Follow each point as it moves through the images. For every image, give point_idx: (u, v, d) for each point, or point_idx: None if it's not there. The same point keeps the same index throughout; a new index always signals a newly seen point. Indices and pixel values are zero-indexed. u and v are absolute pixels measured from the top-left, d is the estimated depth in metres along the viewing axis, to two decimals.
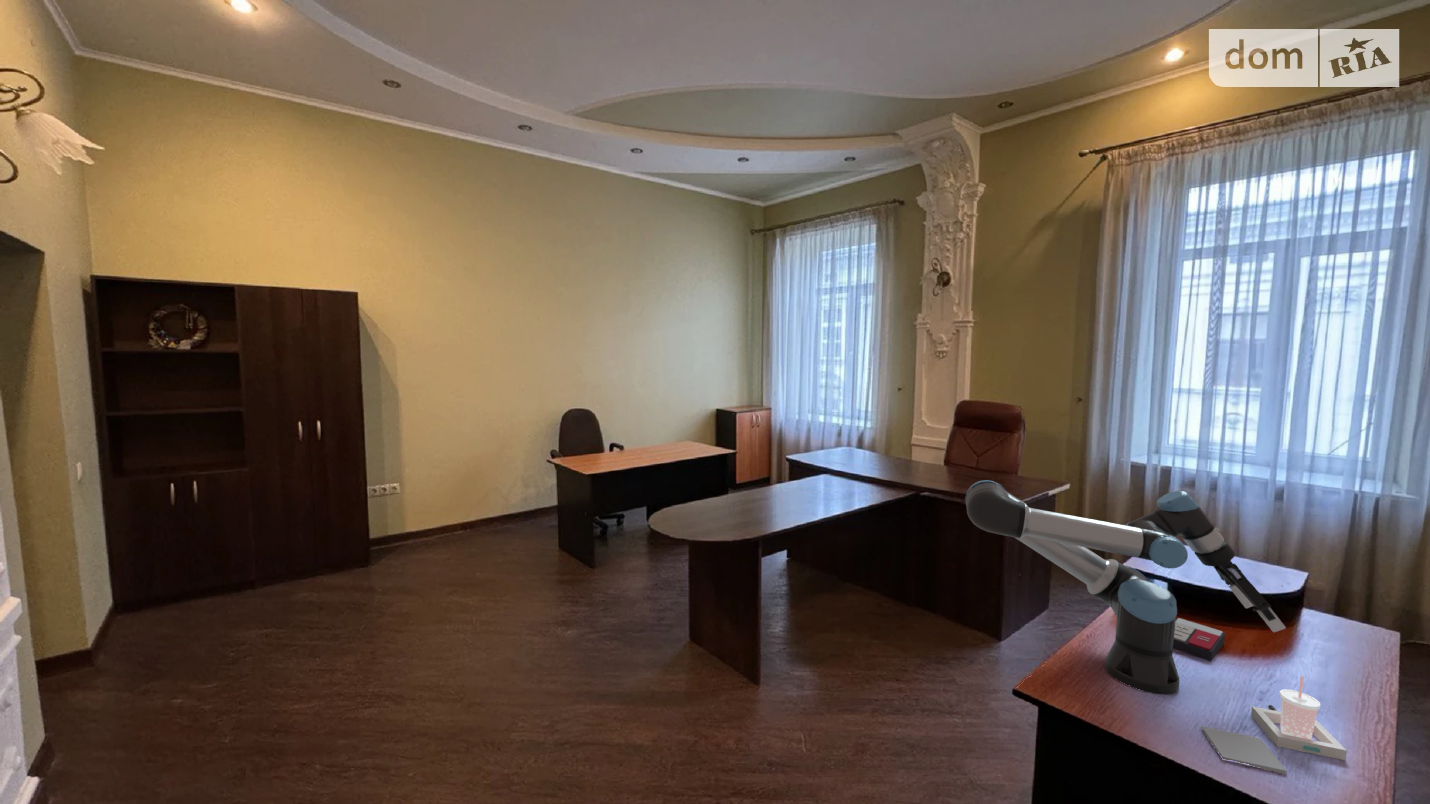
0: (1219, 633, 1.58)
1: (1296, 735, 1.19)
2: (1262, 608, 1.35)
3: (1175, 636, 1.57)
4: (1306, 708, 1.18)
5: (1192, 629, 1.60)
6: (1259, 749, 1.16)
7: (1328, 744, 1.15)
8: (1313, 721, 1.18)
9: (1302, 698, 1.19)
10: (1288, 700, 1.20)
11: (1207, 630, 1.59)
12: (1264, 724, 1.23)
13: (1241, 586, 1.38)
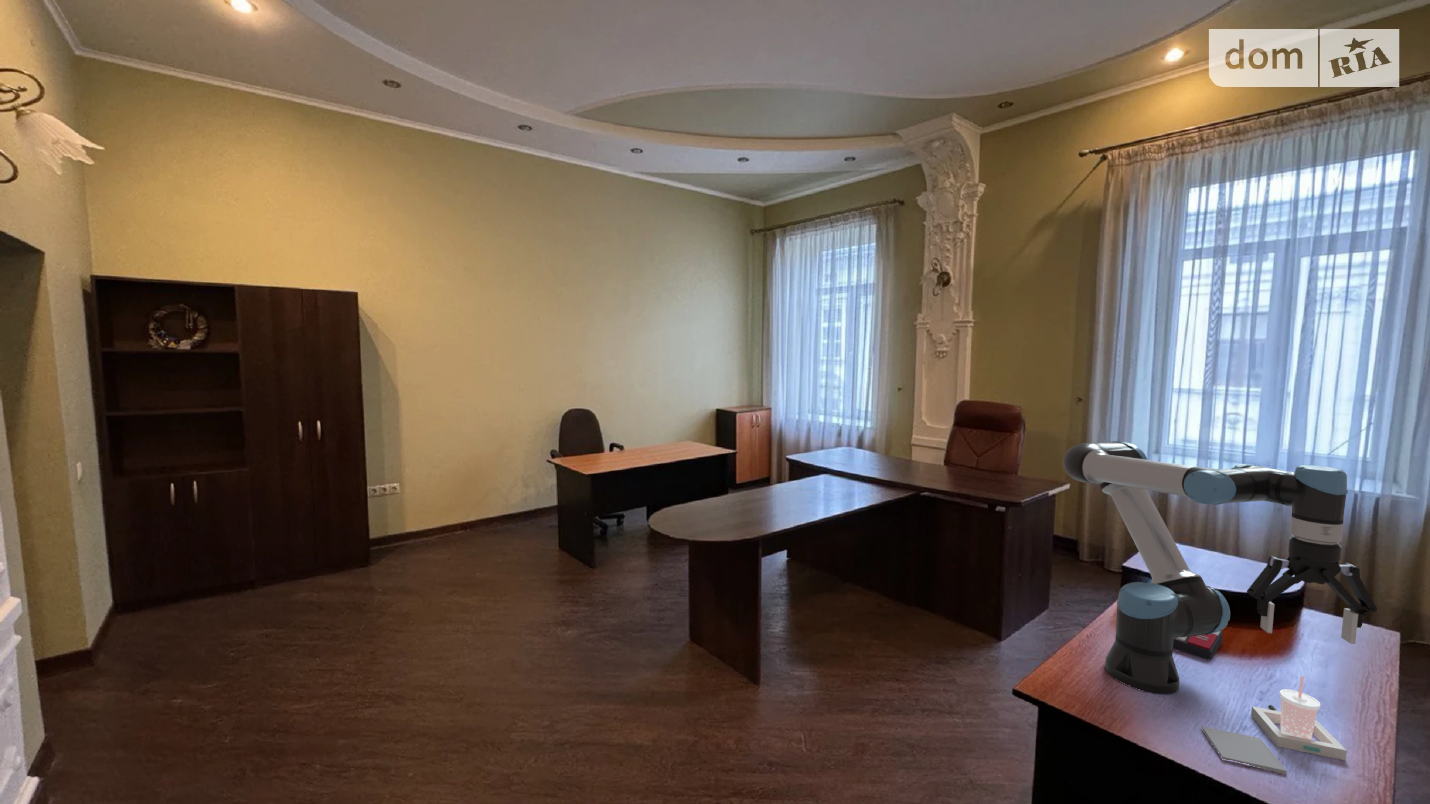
0: (1217, 632, 1.58)
1: (1296, 735, 1.19)
2: (1248, 592, 1.23)
3: None
4: (1306, 707, 1.18)
5: None
6: (1259, 749, 1.16)
7: (1328, 744, 1.15)
8: (1313, 721, 1.18)
9: (1302, 698, 1.19)
10: (1288, 700, 1.20)
11: None
12: (1264, 724, 1.23)
13: (1263, 571, 1.22)
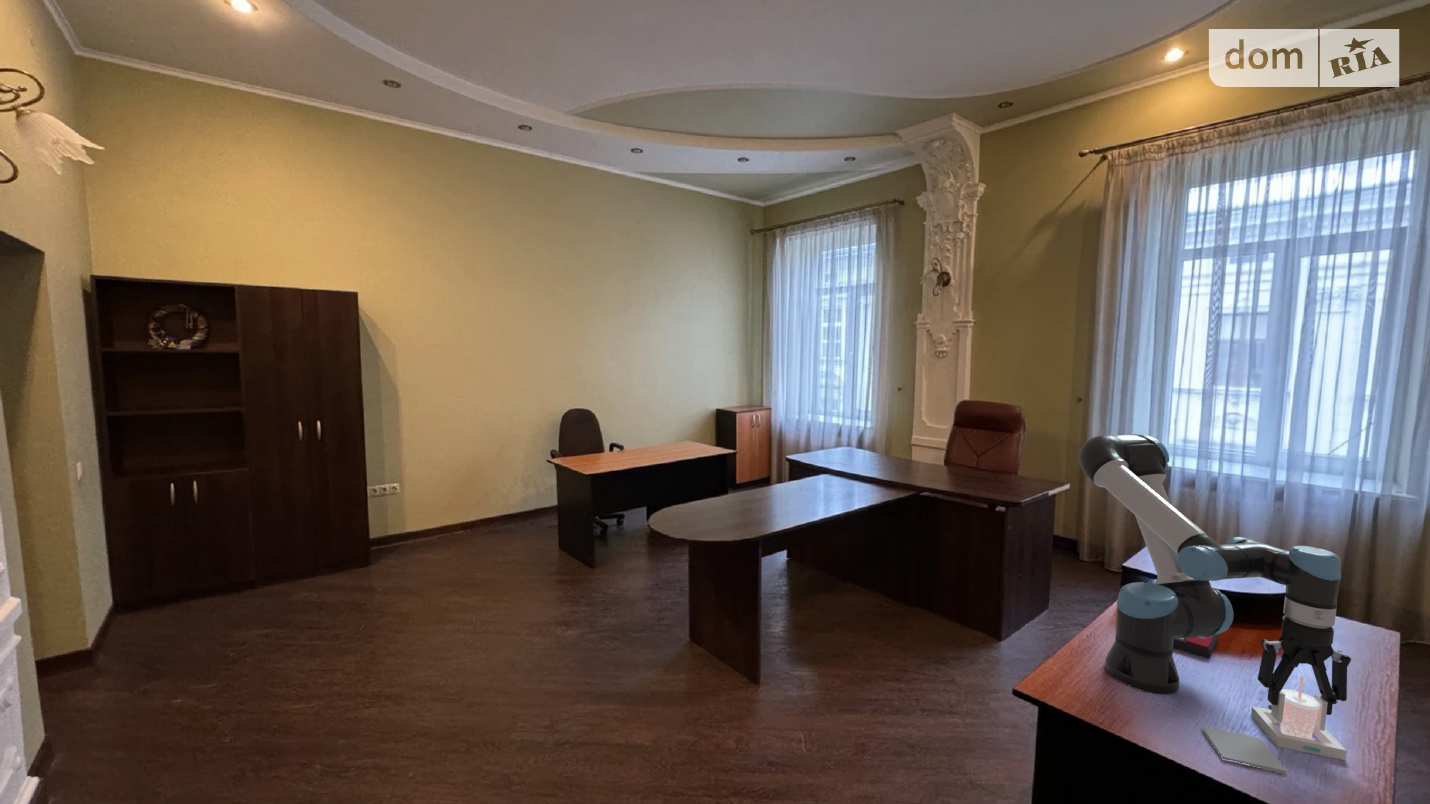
0: None
1: (1296, 735, 1.19)
2: (1259, 680, 1.23)
3: None
4: (1306, 707, 1.18)
5: None
6: (1259, 749, 1.16)
7: (1328, 744, 1.15)
8: (1313, 721, 1.18)
9: (1302, 698, 1.19)
10: (1288, 700, 1.20)
11: None
12: (1264, 724, 1.23)
13: (1263, 656, 1.22)
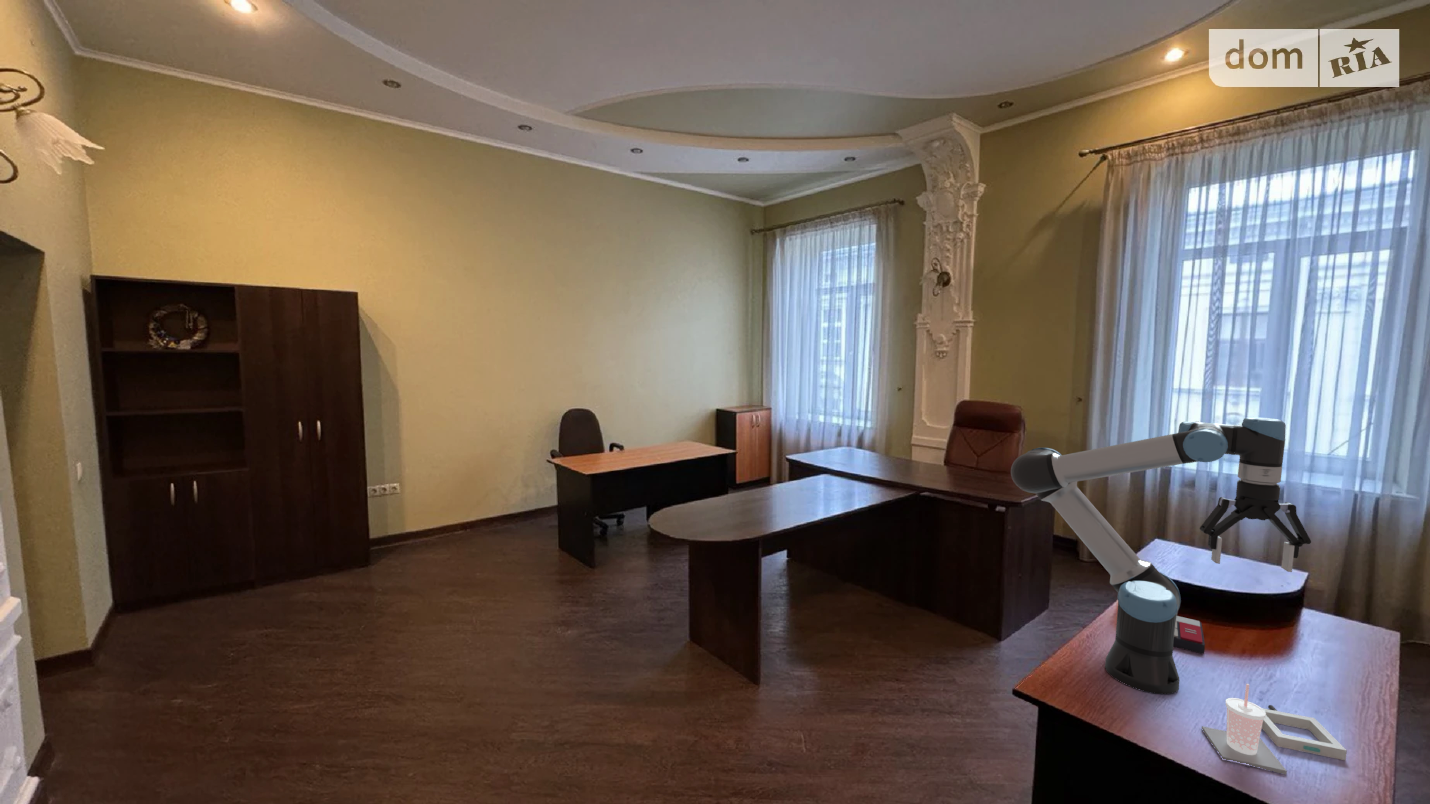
0: (1198, 623, 1.63)
1: (1241, 746, 1.15)
2: (1201, 529, 1.41)
3: None
4: (1251, 717, 1.13)
5: (1175, 622, 1.64)
6: (1259, 749, 1.16)
7: (1328, 744, 1.15)
8: (1258, 731, 1.14)
9: (1247, 707, 1.15)
10: (1233, 709, 1.15)
11: (1187, 621, 1.64)
12: (1264, 724, 1.23)
13: (1214, 510, 1.39)
